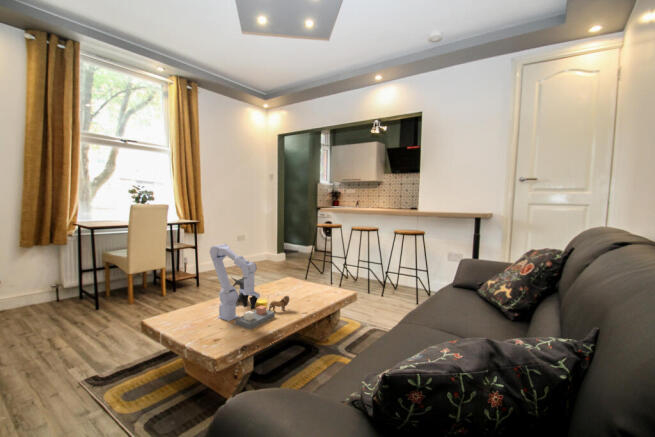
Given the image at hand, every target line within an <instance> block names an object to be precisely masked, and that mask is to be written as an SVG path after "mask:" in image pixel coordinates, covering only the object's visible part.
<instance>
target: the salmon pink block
mask: <svg viewBox="0 0 655 437" xmlns="http://www.w3.org/2000/svg"><path fill="white" fill-rule="evenodd" d="M255 308H256V309H255V310H256V314H259V315H263V314H265V313H266V310H267V306H265V305H259V306H257V307H255Z"/></svg>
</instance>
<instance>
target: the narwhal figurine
mask: <svg viewBox="0 0 655 437" xmlns="http://www.w3.org/2000/svg"><path fill="white" fill-rule="evenodd" d="M231 279H232V280H233V281H234V282H235V283H234V284H233V285H232V286H233V287H235V286H239V290H241V289H242V290H244V277H243V276H242V278H239V279H236V278H234V277H231ZM238 294H239V293H238ZM240 295H241V293H240V294H239V298H238V299H237V302H236V307H237V306H238V304H239V303H243V302H242V300H241V298H240Z"/></svg>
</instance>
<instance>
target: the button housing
mask: <svg viewBox="0 0 655 437" xmlns="http://www.w3.org/2000/svg"><path fill="white" fill-rule="evenodd" d="M268 310H269V309H266V313H265V314H263V315H259V314H256V309H254V310H252V311H251V312H254V319H253V320H251V321H247V320H244V315H241V316H239V317H237V318H235V319H234V325H236V326H239V327H242V328H245V329H247V330H253V329H255V328H257V327H258V326H261V325H262V324H265V323H266V322H268V321H269V320H272V319H273V318H275V312H274V311H273V310H271V311H268Z"/></svg>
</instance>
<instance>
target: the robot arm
mask: <svg viewBox="0 0 655 437" xmlns="http://www.w3.org/2000/svg"><path fill="white" fill-rule="evenodd" d="M209 254H210V258H211V261H212V263H213V266H214V271H215V272H216V276H217V278H218V282H219V284H220V287H221V290H220V291H219V292H218V295H219V301H220V304H219V307H218V312H219V314H218V316H217V318H219V319H222V320H225V321H227V322H231V321H232V320H235V319H237V318H239V317H240V315H238V314H236V312H237V308H236V307H237V306H236V302H237V299H238V298H239V294H240V293H241V295H240V298H241V300H242V302H241V303H242V305H243V308H247V307H248V305H249V304H248V303H249V302H250V310H255V308H256V303H257V301H258V299H259V298H260V297H261V294H260V293H259V292H257V291H255V273H256V271H257V264H256V263H255V262H253V261H249V260H248V259H246V258H245V257H244V256H243V255H238V254H237V253H235V252H234V251H233V250H232V249H231V247H230V245H228V244H227V243H223V244H218V245H217V244H216V245H211V247H210V248H209ZM226 257H228V259H230V260H232V261H233V263H234V264H235V266H237V267H238V268H240V270H241V273H242V278H243V277H244V290H242V289H241V290H240V289H238V291H237V288H236V287H235V286H234V287H233V285H232V284H231V282H230V279H229V275H228V273H227V270H226V266H225V265H224V264H225V263H224V259H225V258H226Z"/></svg>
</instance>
